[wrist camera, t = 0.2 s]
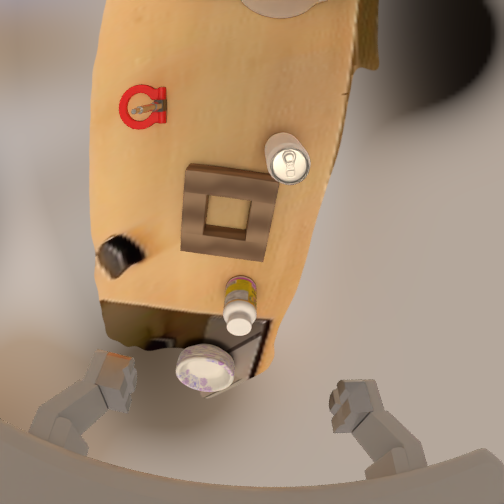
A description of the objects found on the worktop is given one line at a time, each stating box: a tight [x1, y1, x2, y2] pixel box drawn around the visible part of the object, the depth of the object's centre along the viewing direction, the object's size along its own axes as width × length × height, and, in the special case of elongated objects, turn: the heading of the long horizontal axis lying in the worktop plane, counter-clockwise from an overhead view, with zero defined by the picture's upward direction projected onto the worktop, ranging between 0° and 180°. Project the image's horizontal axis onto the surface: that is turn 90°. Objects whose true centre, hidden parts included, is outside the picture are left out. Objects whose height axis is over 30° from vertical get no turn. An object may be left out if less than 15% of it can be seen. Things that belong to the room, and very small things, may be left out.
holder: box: [180, 163, 279, 262], centre depth 56 cm, size 16×16×4 cm
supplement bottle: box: [223, 276, 256, 336], centre depth 62 cm, size 7×7×13 cm
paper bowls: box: [176, 344, 234, 392], centre depth 76 cm, size 15×15×8 cm
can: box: [265, 132, 310, 185], centre depth 47 cm, size 6×6×12 cm
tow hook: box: [119, 85, 166, 130], centre depth 42 cm, size 8×13×9 cm
